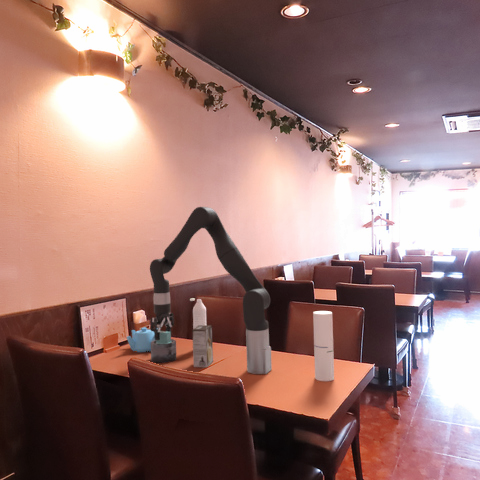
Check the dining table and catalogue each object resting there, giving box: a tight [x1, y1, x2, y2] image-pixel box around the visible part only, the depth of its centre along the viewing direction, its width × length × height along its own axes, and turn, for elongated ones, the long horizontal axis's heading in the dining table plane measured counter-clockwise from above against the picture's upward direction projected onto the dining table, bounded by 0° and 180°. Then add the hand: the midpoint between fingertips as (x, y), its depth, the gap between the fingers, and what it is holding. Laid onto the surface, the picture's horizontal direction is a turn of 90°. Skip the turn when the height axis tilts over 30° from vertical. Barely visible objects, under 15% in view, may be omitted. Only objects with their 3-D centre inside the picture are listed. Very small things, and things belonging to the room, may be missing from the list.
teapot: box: [126, 326, 158, 353], centre depth 211 cm, size 15×15×11 cm
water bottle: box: [189, 297, 208, 330], centre depth 206 cm, size 9×6×25 cm
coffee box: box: [191, 324, 214, 368], centre depth 183 cm, size 9×6×16 cm
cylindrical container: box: [312, 310, 335, 382], centre depth 161 cm, size 7×7×25 cm
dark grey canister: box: [150, 338, 177, 364], centre depth 192 cm, size 11×11×8 cm
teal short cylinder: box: [156, 330, 172, 344], centre depth 192 cm, size 7×7×6 cm
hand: (163, 338), depth 192 cm, fingers open, 8 cm apart
